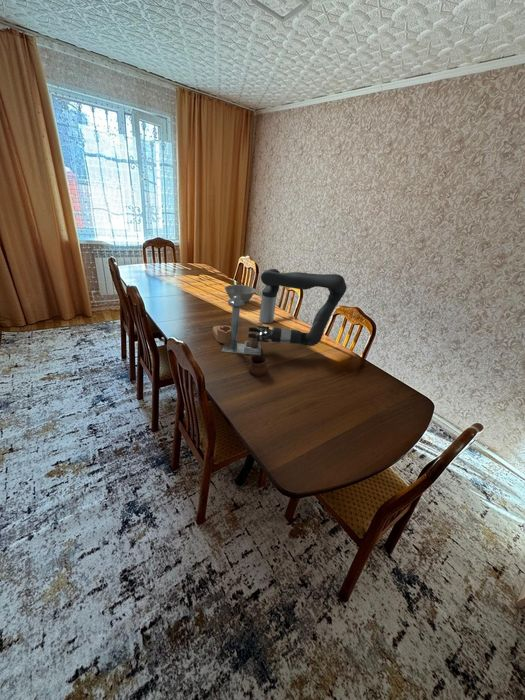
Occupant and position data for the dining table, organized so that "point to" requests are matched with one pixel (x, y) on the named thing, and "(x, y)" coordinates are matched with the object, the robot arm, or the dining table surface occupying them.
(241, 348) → the metal post stand
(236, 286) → the ceramic bowl
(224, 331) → the bracket
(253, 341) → the wooden block
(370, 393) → the dining table surface
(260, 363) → the ceramic pot
